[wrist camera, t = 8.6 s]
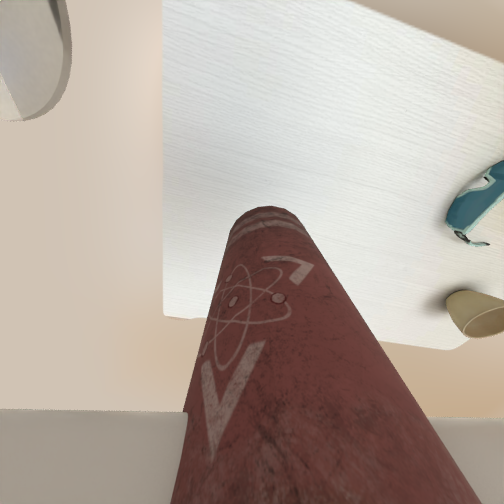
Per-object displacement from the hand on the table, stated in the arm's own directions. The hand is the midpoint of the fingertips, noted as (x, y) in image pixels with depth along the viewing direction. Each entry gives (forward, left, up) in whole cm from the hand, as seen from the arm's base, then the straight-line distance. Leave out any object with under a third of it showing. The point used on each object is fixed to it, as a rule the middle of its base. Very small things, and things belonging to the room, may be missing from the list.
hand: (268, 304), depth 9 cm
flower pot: (+49, -22, -24) cm, 59 cm away
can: (0, 0, -7) cm, 7 cm away
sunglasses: (+41, 0, -24) cm, 47 cm away
